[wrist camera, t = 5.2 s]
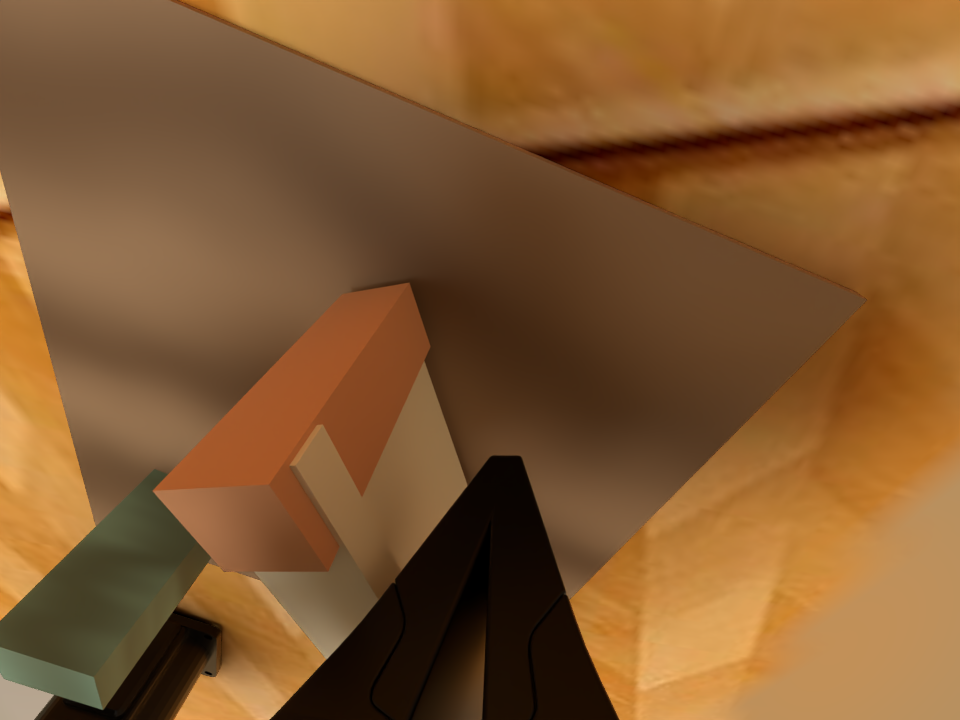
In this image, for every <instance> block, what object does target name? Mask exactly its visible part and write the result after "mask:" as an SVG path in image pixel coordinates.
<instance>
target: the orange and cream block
mask: <svg viewBox="0 0 960 720" xmlns="http://www.w3.org/2000/svg"><path fill="white" fill-rule="evenodd" d="M430 347H431V346H430V343H429V340H428V337H427V334H426V331H425V328H424V325H423V322H422V319H421V316H420V313H419V310H418V307H417V304H416V301H415V298H414V295H413V292H412V289H411V286H410V283H404V284H398V285H392V286H386V287H381V288H375V289H369V290H363V291H357V292H351V293H345V294H342V295H341V296H340V297H339V298H338V299H337V300H336V301H335V302H334V303H333V304H332V305H331V306H330V307H329V308H328V309H327V310H326V311H325V312H324V314H323V315H322V316H321V317H320V318H319V319H318V320H317V321H316V322H315V323H314V324H313V325H312V326H311V327H310V328H309V329H308V330H307V331H306V332H305V333H304V334H303V335H302V336H301V337H300V338H299V339H298V340H297V342H296V343H295V344H294V345H293V346H292V347H291V348H290V349H289V350H288V351H287V352H286V353H285V354H284V355H283V356H282V357H281V358H280V359H279V360H278V361H277V362H276V363H275V364H274V365H273V366H272V367H271V368H270V369H269V371H268V372H267V373H266V374H265V375H264V376H263V377H262V378H261V379H260V380H259V381H258V382H257V383H256V384H255V385H254V386H253V387H252V388H251V389H250V390H249V391H248V392H247V393H246V394H245V395H244V396H243V397H242V399H241V400H240V401H239V402H238V403H237V404H236V405H235V406H234V407H233V408H232V409H231V410H230V411H229V412H228V413H227V414H226V415H225V416H224V417H223V418H222V419H221V420H220V421H219V422H218V423H217V424H216V425H215V426H214V428H213V429H212V430H211V431H210V432H209V433H208V434H207V435H206V436H205V437H204V438H203V439H202V440H201V441H200V442H199V443H198V444H197V445H196V446H195V447H194V448H193V449H192V450H191V451H190V452H189V453H188V454H187V456H186V457H185V458H184V459H183V460H182V461H181V462H180V463H179V464H178V465H177V466H176V467H175V468H174V469H173V470H172V471H171V472H170V473H169V474H168V475H167V476H166V477H165V478H164V479H163V480H162V481H161V482H160V483H159V485H158V486H157V487H156V488H155V489H154V490H153V492H154V493H155V494H156V496H157V497H158V498H159V499H160V500H161V501H162V502H163V504H164V505H165V506H166V507H167V508H168V509H169V510H170V511H171V513H172V514H173V515H174V516H175V517H176V518H177V519H178V520H179V522H180V523H181V524H182V525H183V526H184V527H185V528H186V529H187V531H188V532H189V533H190V534H191V535H192V536H193V537H194V538H195V540H196V541H197V542H198V543H199V544H200V545H201V546H202V548H203V549H204V550H205V551H206V552H207V553H208V554H209V555H210V557H211V558H212V559H213V560H214V561H215V562H216V563H217V564H218V566H219V567H220V568H221V569H222V570H223V571H224V572H255V574H256V575H257V576H258V577H259V578H260V580H261V581H262V582H263V583H264V584H265V586H266V587H267V588H268V589H269V591H270V592H271V593H272V594H273V595H274V597H275V598H276V599H277V600H278V601H279V603H280V604H281V605H282V606H283V607H284V609H285V610H286V611H287V612H288V614H289V615H290V616H291V617H292V618H293V620H294V621H295V622H296V623H297V624H298V626H299V627H300V628H301V629H302V630H303V632H304V633H305V634H306V635H307V636H308V638H309V639H310V640H311V641H312V643H313V644H314V645H315V646H316V647H317V649H318V650H319V651H320V652H321V653H322V655H323V656H324V657H325V658H326V659H328V657H329V656H330V655H331V654H332V653H333V652H334V651H335V650H336V649H337V648H338V647H339V646H340V644H341V643H342V642H343V641H344V640H345V639H346V638H347V637H348V636H349V634H350V633H351V632H352V631H353V630H354V629H355V628H356V627H357V626H358V624H359V623H360V622H361V621H362V620H363V618H364V617H365V616H366V615H367V614H368V612H369V611H370V610H371V609H372V607H373V606H374V605H375V604H376V602H377V601H378V600H379V599H380V598H381V596H382V595H383V594H384V592H385V591H386V590H387V588H388V587H389V586H390V585H391V583H395V578H396V577H397V576H398V575H399V573H400V572H401V571H402V569H403V568H404V567H405V566H406V564H407V563H408V562H409V560H410V559H411V558H412V556H413V555H414V554H415V553H416V551H417V550H418V549H419V547H420V546H421V545H422V544H423V542H424V541H425V540H426V538H427V537H428V536H429V535H430V533H431V532H432V531H433V529H434V528H435V527H436V525H437V524H438V523H439V522H440V520H441V519H442V518H443V516H444V515H445V514H446V513H447V511H448V510H449V509H450V507H451V506H452V505H453V504H454V502H455V501H456V500H457V498H458V497H459V496H460V494H461V493H462V492H463V491H464V489H465V488H466V487H467V482H466V479H465V476H464V474H463V471H462V468H461V465H460V462H459V459H458V456H457V453H456V451H455V448H454V445H453V442H452V439H451V436H450V433H449V430H448V428H447V425H446V422H445V419H444V416H443V413H442V410H441V407H440V405H439V402H438V399H437V396H436V393H435V390H434V387H433V384H432V381H431V379H430V376H429V373H428V370H427V367H426V364H425V361H424V360H425V358H426V356H427V353H428V351H429V349H430Z"/></svg>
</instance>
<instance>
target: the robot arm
mask: <svg viewBox="0 0 960 720" xmlns="http://www.w3.org/2000/svg"><path fill="white" fill-rule="evenodd" d="M220 662H221V631H220V630H219V629H218V628H216V627H214V626H211V625H208V624H205V623H202V622H199V621H196V620H193V619H190V618H186V617H183V616H180V615H177V614H174V613H172V614H171V615H170V617H169V618H168V619H167V621H166V622H165V624H164V625H163V626H162V628H161V629H160V631H159V632H158V633H157V635H156V636H155V638H154V639H153V640H152V642H151V643H150V645H149V646H148V647H147V649H146V650H145V652H144V653H143V655H142V656H141V657H140V659H139V660H138V662H137V663H136V664H135V666H134V667H133V669H132V670H131V671H130V673H129V674H128V676H127V677H126V678H125V680H124V681H123V683H122V684H121V686H120V687H119V688H118V690H117V691H116V693H115V694H114V695H113V697H112V698H111V700H110V701H109V702H108V704H107V705H106V707H105V708H104V709H103V710H101V709H98V708H95V707H92V706H89V705H85V704H82V703H79V702H76V701H73V700H69V699H66V698H63V697H60V696H57V695H54V696H53V697H52V698H51V700H50V701H49V702H48V703H47V704H46V706H45V707H44V708H43V710H42V711H41V712H40V713H39V714H38V716H37V717H36V718H35V719H34V720H174V719H175V717H176V715H177V714H178V712H179V710H180V708H181V707H182V705H183V703H184V702H185V700H186V698H187V697H188V695H189V693H190V691H191V690H192V688H193V686H194V685H195V683H196V681H197V680H198V678H199V676H200V675H201V674H203V675H206V676H210V677H216V675H217V674H218V672H219V670H220ZM270 720H619V718H618V716H617V713H616V711H615V709H614V707H613V705H612V703H611V701H610V699H609V697H608V694H607V692H606V690H605V688H604V686H603V684H602V682H601V680H600V677H599V675H598V673H597V671H596V668H595V666H594V664H593V662H592V659H591V657H590V655H589V652H588V650H587V648H586V646H585V643H584V640H583V637H582V635H581V632H580V629H579V627H578V624H577V621H576V618H575V616H574V613H573V610H572V607H571V604H570V601H569V597H568V596H567V593H566V589H565V586H564V583H563V580H562V577H561V574H560V571H559V568H558V565H557V562H556V559H555V556H554V553H553V550H552V547H551V544H550V541H549V538H548V535H547V532H546V529H545V526H544V523H543V520H542V517H541V514H540V511H539V507H538V504H537V501H536V498H535V495H534V492H533V489H532V486H531V483H530V480H529V477H528V474H527V471H526V468H525V465H524V462H523V459H522V457H521V456H519V455H492V456H490V457H489V458H488V460H487V461H486V462H485V463H484V465H483V466H482V467H481V469H480V470H479V471H478V473H477V474H476V475H475V476H474V478H473V479H472V480H471V482H470V483H469V484H468V485H467V487H466V488H465V489H464V491H463V492H462V493H461V494H460V496H459V497H458V498H457V500H456V501H455V502H454V504H453V505H452V506H451V507H450V509H449V510H448V511H447V513H446V514H445V515H444V516H443V518H442V519H441V520H440V522H439V523H438V524H437V525H436V527H435V528H434V529H433V531H432V532H431V533H430V535H429V536H428V537H427V538H426V540H425V541H424V542H423V544H422V545H421V546H420V547H419V549H418V550H417V551H416V553H415V554H414V555H413V556H412V558H411V559H410V560H409V562H408V563H407V564H406V566H405V567H404V568H403V569H402V571H401V572H400V573H399V575H398V576H397V577H396V578H395V583H391V585H390V586H389V587H388V588H387V590H386V591H385V592H384V594H383V595H382V596H381V598H380V599H379V600H378V601H377V602H376V604H375V605H374V606H373V607H372V609H371V610H370V611H369V612H368V614H367V615H366V616H365V617H364V618H363V620H362V621H361V622H360V623H359V624H358V626H357V627H356V628H355V629H354V630H353V631H352V632H351V633H350V634H349V636H348V637H347V638H346V639H345V640H344V641H343V642H342V643H341V644H340V646H339V647H338V648H337V649H336V650H335V651H334V652H333V653H332V654H331V655H330V656H329V657H328V659H327V660H326V661H325V662H324V663H323V664H322V665H321V666H320V667H319V668H318V669H317V670H316V671H315V672H314V673H313V675H312V676H311V677H310V678H309V679H308V680H307V681H306V682H305V683H304V684H303V685H302V686H301V687H300V688H299V689H298V691H297V692H296V693H295V694H294V695H293V696H292V697H291V698H290V699H289V700H288V701H287V702H286V703H285V704H284V705H283V707H282V708H281V709H280V710H279V711H278V712H277V713H276V714H275V715H274V716H273V717H272V718H271V719H270Z"/></svg>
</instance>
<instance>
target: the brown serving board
mask: <svg viewBox="0 0 960 720" xmlns="http://www.w3.org/2000/svg"><path fill="white" fill-rule="evenodd" d="M0 172H1V175H2V179H3V183H4V186H5V190H6V194H7V198H8V201H9V205H10V209H11V212H12V216H13V220H14V224H15V227H16V231H17V235H18V238H19V242H20V246H21V250H22V253H23V257H24V261H25V265H26V268H27V272H28V276H29V279H30V283H31V287H32V291H33V294H34V298H35V302H36V305H37V309H38V313H39V317H40V320H41V324H42V328H43V331H44V335H45V339H46V343H47V346H48V350H49V354H50V358H51V361H52V365H53V369H54V372H55V376H56V380H57V384H58V387H59V391H60V395H61V398H62V402H63V406H64V410H65V413H66V417H67V421H68V424H69V428H70V432H71V436H72V439H73V443H74V447H75V451H76V454H77V458H78V462H79V465H80V469H81V473H82V477H83V480H84V484H85V488H86V491H87V495H88V499H89V503H90V506H91V510H92V514H93V517H94V521H95V525H96V527H95V528H94V529H93V530H92V531H91V532H90V533H89V534H88V535H87V536H86V537H85V538H84V539H83V540H82V541H81V542H80V543H79V544H78V545H77V546H76V547H75V548H74V549H73V550H72V551H71V552H70V553H69V554H68V555H67V556H66V557H65V558H64V559H63V560H62V561H61V562H60V563H59V564H58V565H57V566H55V567H54V568H53V569H52V570H51V571H50V572H49V573H48V574H47V575H46V576H45V577H44V578H43V579H42V580H41V581H40V582H39V583H38V584H37V585H36V586H35V587H34V588H33V589H32V590H31V591H30V592H29V593H28V594H27V595H26V596H25V597H24V598H23V599H22V600H21V601H20V602H19V603H18V604H17V605H16V606H15V607H14V608H13V609H12V610H11V611H10V612H9V613H8V614H7V615H6V616H5V617H4V618H3V619H2V620H1V621H0V673H1V675H2V676H3V678H4V679H6V680H9V681H12V682H16V683H19V684H22V685H25V686H28V687H31V688H34V689H38V690H41V691H44V692H47V693H51V694H54V695H57V696H60V697H63V698H66V699H69V700H73V701H76V702H79V703H82V704H85V705H89V706H92V707H95V708H98V709H101V710H103V709H104V708H105V707H106V705H107V704H108V702H109V701H110V700H111V698H112V697H113V695H114V694H115V693H116V691H117V690H118V688H119V687H120V686H121V684H122V683H123V681H124V680H125V678H126V677H127V676H128V674H129V673H130V671H131V670H132V669H133V667H134V666H135V664H136V663H137V662H138V660H139V659H140V657H141V656H142V655H143V653H144V652H145V650H146V649H147V647H148V646H149V645H150V643H151V642H152V640H153V639H154V638H155V636H156V635H157V633H158V632H159V631H160V629H161V628H162V626H163V625H164V624H165V622H166V621H167V619H168V618H169V617H170V615H171V614H172V612H173V611H174V609H175V608H176V607H177V605H178V604H179V602H180V601H181V600H182V598H183V597H184V595H185V594H186V593H187V591H188V590H189V588H190V587H191V586H192V584H193V583H194V581H195V580H196V578H197V577H198V576H199V574H200V573H201V571H202V570H203V569H204V567H205V566H206V564H207V563H209V564H213V565H216V566H218V564H217V563H216V562H215V561H214V560H213V559H212V558H211V557H210V555H209V554H208V553H207V552H206V551H205V550H204V549H203V548H202V546H201V545H200V544H199V543H198V542H197V541H196V540H195V538H194V537H193V536H192V535H191V534H190V533H189V532H188V531H187V529H186V528H185V527H184V526H183V525H182V524H181V523H180V522H179V520H178V519H177V518H176V517H175V516H174V515H173V514H172V513H171V511H170V510H169V509H168V508H167V507H166V506H165V505H164V504H163V502H162V501H161V500H160V499H159V498H158V497H157V496H156V494H155V493H154V492H153V490H154V489H155V488H156V487H157V486H158V485H159V483H160V482H161V481H162V480H163V479H164V478H165V477H166V476H167V475H168V474H169V473H170V472H171V471H172V470H173V469H174V468H175V467H176V466H177V465H178V464H179V463H180V462H181V461H182V460H183V459H184V458H185V457H186V456H187V454H188V453H189V452H190V451H191V450H192V449H193V448H194V447H195V446H196V445H197V444H198V443H199V442H200V441H201V440H202V439H203V438H204V437H205V436H206V435H207V434H208V433H209V432H210V431H211V430H212V429H213V428H214V426H215V425H216V424H217V423H218V422H219V421H220V420H221V419H222V418H223V417H224V416H225V415H226V414H227V413H228V412H229V411H230V410H231V409H232V408H233V407H234V406H235V405H236V404H237V403H238V402H239V401H240V400H241V399H242V397H243V396H244V395H245V394H246V393H247V392H248V391H249V390H250V389H251V388H252V387H253V386H254V385H255V384H256V383H257V382H258V381H259V380H260V379H261V378H262V377H263V376H264V375H265V374H266V373H267V372H268V371H269V369H270V368H271V367H272V366H273V365H274V364H275V363H276V362H277V361H278V360H279V359H280V358H281V357H282V356H283V355H284V354H285V353H286V352H287V351H288V350H289V349H290V348H291V347H292V346H293V345H294V344H295V343H296V342H297V340H298V339H299V338H300V337H301V336H302V335H303V334H304V333H305V332H306V331H307V330H308V329H309V328H310V327H311V326H312V325H313V324H314V323H315V322H316V321H317V320H318V319H319V318H320V317H321V316H322V315H323V314H324V312H325V311H326V310H327V309H328V308H329V307H330V306H331V305H332V304H333V303H334V302H335V301H336V300H337V299H338V298H339V297H340V296H341V295H342V294H345V293H351V292H357V291H363V290H369V289H375V288H381V287H386V286H392V285H398V284H404V283H410V286H411V289H412V292H413V295H414V298H415V301H416V304H417V307H418V310H419V313H420V316H421V319H422V322H423V325H424V328H425V331H426V334H427V337H428V340H429V343H430V346H431V347H430V349H429V351H428V353H427V356H426V358H425V360H424V361H425V364H426V367H427V370H428V373H429V376H430V379H431V381H432V384H433V387H434V390H435V393H436V396H437V399H438V402H439V405H440V407H441V410H442V413H443V416H444V419H445V422H446V425H447V428H448V430H449V433H450V436H451V439H452V442H453V445H454V448H455V451H456V453H457V456H458V459H459V462H460V465H461V468H462V471H463V474H464V476H465V479H466V482H467V485H468V484H469V483H470V482H471V480H472V479H473V478H474V476H475V475H476V474H477V473H478V471H479V470H480V469H481V467H482V466H483V465H484V463H485V462H486V461H487V460H488V458H489V457H490V456H492V455H519V456H521V457H522V459H523V462H524V465H525V468H526V471H527V474H528V477H529V480H530V483H531V486H532V489H533V492H534V495H535V498H536V501H537V504H538V507H539V511H540V514H541V517H542V520H543V523H544V526H545V529H546V532H547V535H548V538H549V541H550V544H551V547H552V550H553V553H554V556H555V559H556V562H557V565H558V568H559V571H560V574H561V577H562V580H563V583H564V586H565V589H566V593H567V596H568V597H569V600H570V599H571V598H572V597H573V596H574V595H575V594H576V593H577V592H578V591H579V590H580V589H581V588H582V587H583V586H584V585H585V584H586V583H587V581H588V580H589V579H590V578H591V577H592V576H593V575H594V574H595V573H596V572H597V571H598V570H599V569H600V568H601V567H602V566H603V565H604V564H605V563H606V562H607V561H608V560H609V559H610V558H611V557H612V556H613V555H614V554H615V553H616V552H617V551H618V550H619V549H620V548H621V547H622V546H623V545H624V544H625V543H626V542H627V541H628V540H629V539H630V538H631V537H632V536H633V535H634V534H635V533H636V532H637V531H638V530H639V529H640V528H641V527H642V526H643V525H644V524H645V523H646V522H647V521H648V520H649V519H650V518H651V517H652V516H653V515H654V514H655V513H656V512H657V511H658V510H659V509H660V508H661V507H662V506H663V505H664V504H665V503H666V502H667V501H668V500H669V499H670V498H671V497H672V496H673V495H674V494H675V493H676V492H677V491H678V490H679V489H680V488H681V487H682V486H683V485H684V484H685V483H686V482H687V481H688V480H689V479H690V478H691V477H692V476H693V475H694V474H695V473H696V472H697V471H698V470H699V469H700V468H701V467H702V466H703V465H704V464H705V463H706V462H707V461H708V460H709V459H710V458H711V457H712V456H713V455H714V454H715V453H716V452H717V451H718V450H719V449H720V448H721V447H722V446H723V445H724V444H725V443H726V442H727V441H728V440H729V439H730V438H731V437H732V436H733V435H734V433H735V432H736V431H737V430H738V429H739V428H740V427H741V426H742V425H743V424H744V423H745V422H746V421H747V420H748V419H749V418H750V417H751V416H752V415H753V414H754V413H755V412H756V411H757V410H758V409H759V408H760V407H761V406H762V405H763V404H764V403H765V402H766V401H767V400H768V399H769V398H770V397H771V396H772V395H773V394H774V393H775V392H776V391H777V390H778V389H779V388H780V387H781V386H782V385H783V384H784V383H785V382H786V381H787V380H788V379H789V378H790V377H791V376H792V375H793V374H794V373H795V372H796V371H797V370H798V369H799V368H800V367H801V366H802V365H803V364H804V363H805V362H806V361H807V360H808V359H809V358H810V357H811V356H812V355H813V354H814V353H815V352H816V351H817V350H818V349H819V348H820V347H821V346H822V345H823V344H824V343H825V342H826V341H827V340H828V339H829V338H830V337H831V336H832V335H833V334H834V333H835V332H836V331H837V330H838V329H839V328H840V327H841V326H842V325H843V324H844V323H845V322H846V321H847V320H848V319H849V318H850V317H851V316H852V315H853V314H854V313H855V312H856V311H857V310H858V309H859V308H860V307H861V306H862V305H863V304H864V303H865V302H866V301H867V299H865V298H864V297H862V296H861V295H860V294H858V293H857V292H855V291H852V290H850V289H848V288H845V287H843V286H841V285H838V284H836V283H834V282H831V281H829V280H827V279H824V278H822V277H820V276H818V275H815V274H813V273H811V272H808V271H806V270H804V269H801V268H799V267H797V266H794V265H792V264H790V263H787V262H785V261H783V260H780V259H778V258H776V257H773V256H771V255H769V254H766V253H764V252H762V251H759V250H757V249H755V248H752V247H750V246H748V245H745V244H743V243H741V242H738V241H736V240H734V239H731V238H729V237H727V236H724V235H722V234H720V233H717V232H715V231H713V230H711V229H708V228H706V227H704V226H701V225H699V224H697V223H694V222H692V221H690V220H687V219H685V218H683V217H680V216H678V215H676V214H673V213H671V212H669V211H666V210H664V209H662V208H659V207H657V206H655V205H652V204H650V203H648V202H645V201H643V200H641V199H638V198H636V197H634V196H631V195H629V194H627V193H624V192H622V191H620V190H617V189H615V188H613V187H610V186H608V185H606V184H604V183H601V182H599V181H597V180H594V179H592V178H590V177H587V176H585V175H583V174H580V173H578V172H576V171H573V170H571V169H569V168H566V167H564V166H562V165H559V164H557V163H555V162H552V161H550V160H548V159H545V158H543V157H541V156H538V155H536V154H534V153H531V152H529V151H527V150H524V149H522V148H520V147H517V146H515V145H513V144H510V143H508V142H506V141H503V140H501V139H499V138H497V137H494V136H492V135H490V134H487V133H485V132H483V131H480V130H478V129H476V128H473V127H471V126H469V125H466V124H464V123H462V122H459V121H457V120H455V119H452V118H450V117H448V116H445V115H443V114H441V113H438V112H436V111H434V110H431V109H429V108H427V107H424V106H422V105H420V104H417V103H415V102H413V101H410V100H408V99H406V98H403V97H401V96H399V95H396V94H394V93H392V92H390V91H387V90H385V89H383V88H380V87H378V86H376V85H373V84H371V83H369V82H366V81H364V80H362V79H359V78H357V77H355V76H352V75H350V74H348V73H345V72H343V71H341V70H338V69H336V68H334V67H331V66H329V65H327V64H324V63H322V62H320V61H317V60H315V59H313V58H310V57H308V56H306V55H303V54H301V53H299V52H296V51H294V50H292V49H289V48H287V47H285V46H283V45H280V44H278V43H276V42H273V41H271V40H269V39H266V38H264V37H262V36H259V35H257V34H255V33H252V32H250V31H248V30H245V29H243V28H241V27H238V26H236V25H234V24H231V23H229V22H227V21H224V20H222V19H220V18H217V17H215V16H213V15H210V14H208V13H206V12H203V11H201V10H199V9H196V8H194V7H192V6H189V5H187V4H185V3H182V2H180V1H178V0H0ZM237 573H240V574H243V575H246V576H249V577H252V578H255V579H258V580H260V578H259V577H258V576H257V575H256V574H255V572H237Z"/></svg>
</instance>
